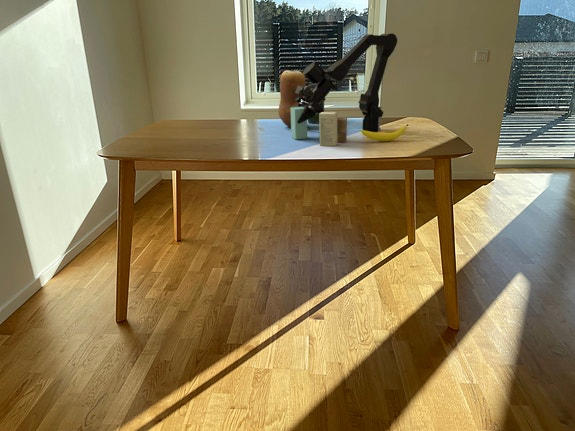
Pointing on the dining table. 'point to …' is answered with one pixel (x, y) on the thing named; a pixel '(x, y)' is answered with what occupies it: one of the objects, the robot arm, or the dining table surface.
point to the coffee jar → (316, 118)
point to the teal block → (298, 129)
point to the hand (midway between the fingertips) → (295, 121)
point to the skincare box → (328, 128)
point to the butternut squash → (289, 93)
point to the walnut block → (341, 130)
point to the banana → (384, 135)
